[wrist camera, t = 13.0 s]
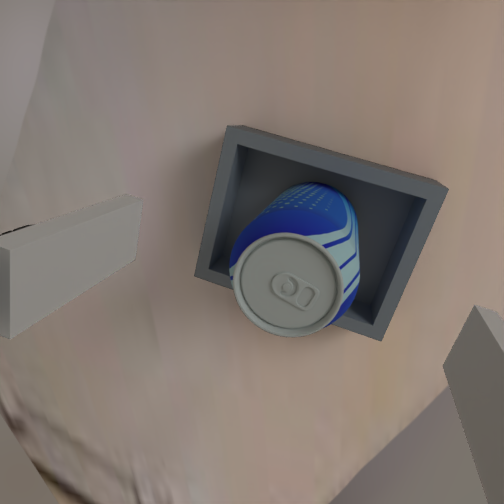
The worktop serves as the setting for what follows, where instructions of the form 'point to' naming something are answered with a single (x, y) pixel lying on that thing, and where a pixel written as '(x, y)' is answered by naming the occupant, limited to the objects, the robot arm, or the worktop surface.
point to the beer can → (298, 261)
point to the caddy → (346, 181)
